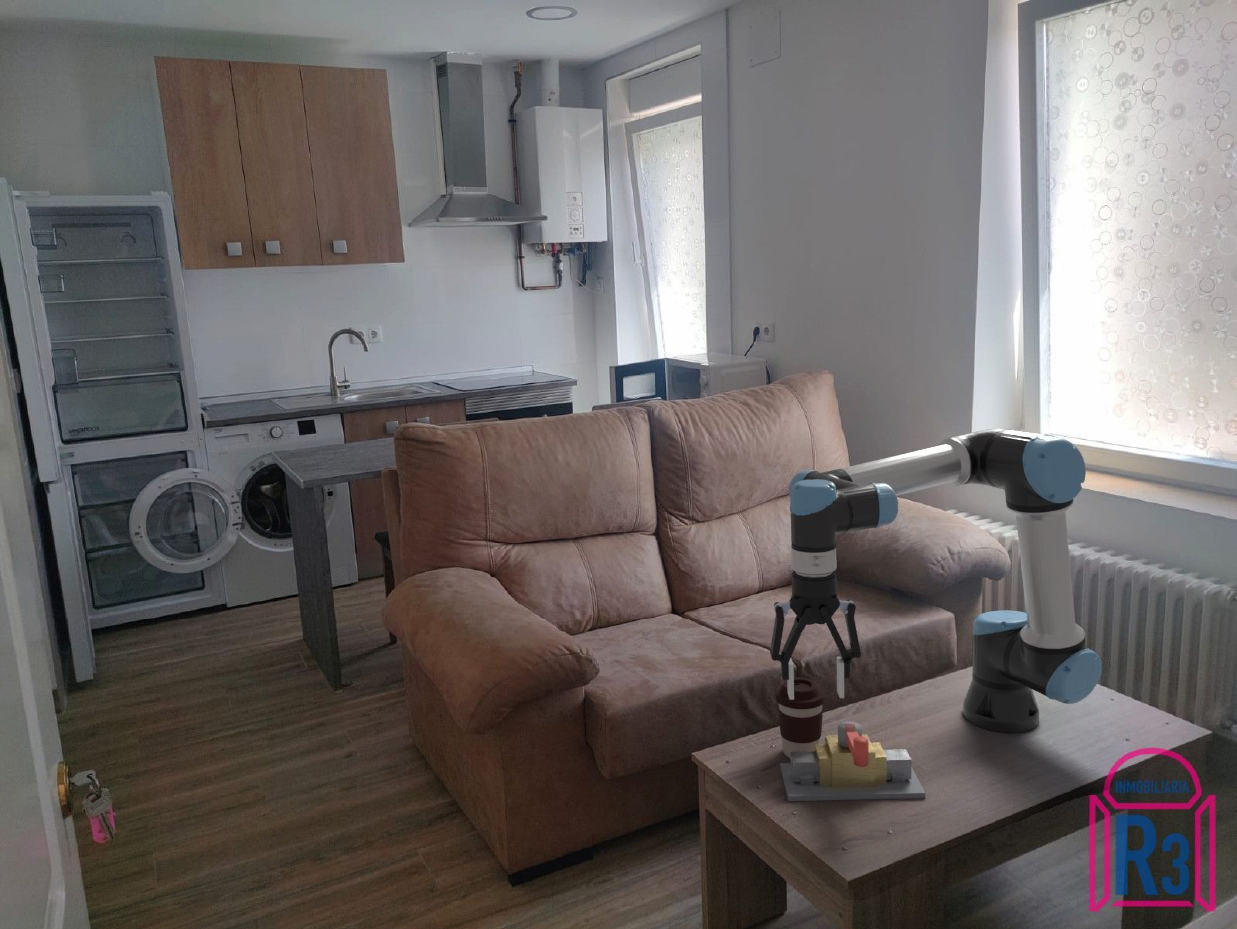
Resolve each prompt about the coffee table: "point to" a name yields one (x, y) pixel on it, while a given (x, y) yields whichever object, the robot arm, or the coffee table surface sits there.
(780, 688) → the coffee cup
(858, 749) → the lever
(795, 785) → the mount board
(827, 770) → the pipe valve
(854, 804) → the coffee table surface
